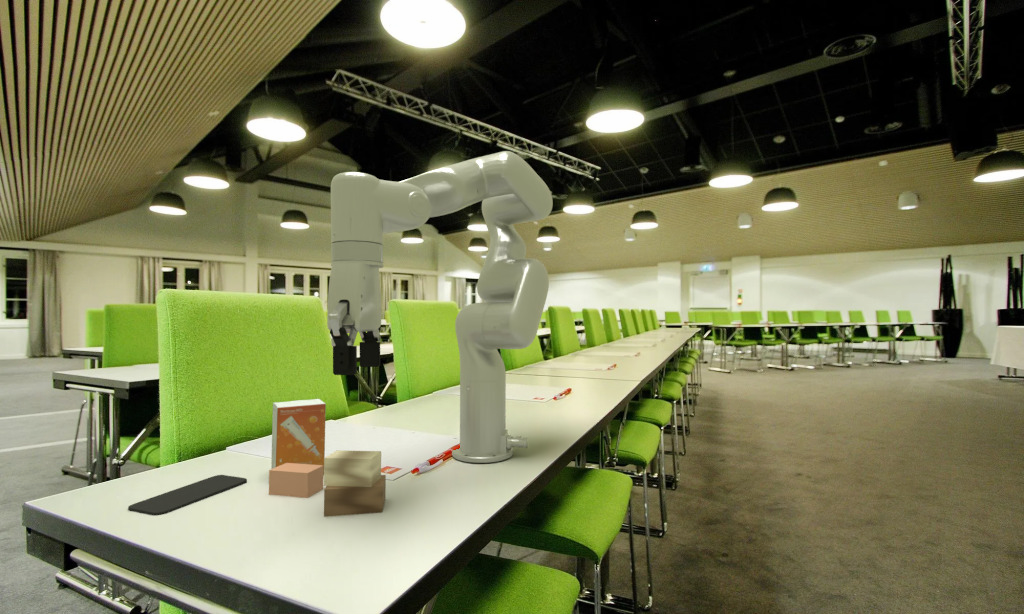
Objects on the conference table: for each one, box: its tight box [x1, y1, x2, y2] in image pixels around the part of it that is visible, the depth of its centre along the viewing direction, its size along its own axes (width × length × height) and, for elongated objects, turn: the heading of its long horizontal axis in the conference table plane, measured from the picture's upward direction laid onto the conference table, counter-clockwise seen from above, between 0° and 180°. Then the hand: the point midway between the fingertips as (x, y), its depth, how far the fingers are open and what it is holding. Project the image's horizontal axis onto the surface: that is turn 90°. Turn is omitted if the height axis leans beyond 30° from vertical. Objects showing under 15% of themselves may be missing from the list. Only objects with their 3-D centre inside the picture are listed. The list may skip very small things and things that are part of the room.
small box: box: [270, 398, 327, 476], centre depth 83 cm, size 8×6×13 cm
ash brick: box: [323, 449, 382, 487], centre depth 68 cm, size 7×4×4 cm, turn 86°
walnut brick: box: [323, 474, 387, 518], centre depth 68 cm, size 8×5×4 cm, turn 101°
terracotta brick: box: [268, 463, 324, 499], centre depth 74 cm, size 7×4×4 cm, turn 78°
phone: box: [127, 474, 248, 516], centre depth 73 cm, size 7×1×15 cm
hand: (358, 370), depth 69 cm, fingers open, 9 cm apart
